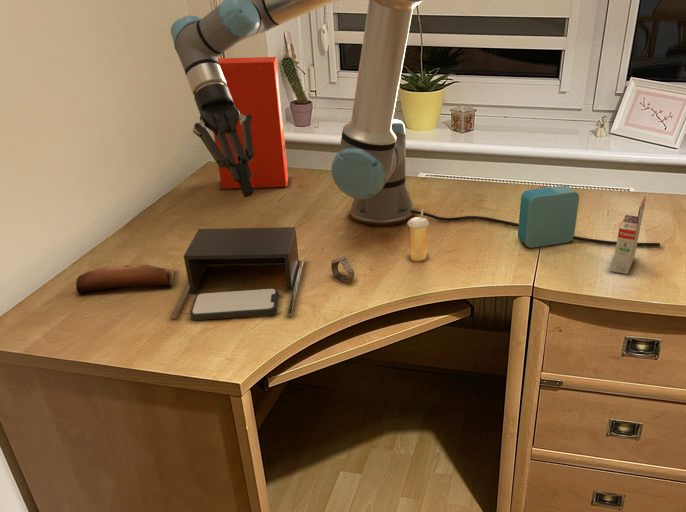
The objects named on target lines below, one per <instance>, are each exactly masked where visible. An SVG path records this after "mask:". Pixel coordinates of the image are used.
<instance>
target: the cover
mask: <svg viewBox="0 0 686 512" xmlns="http://www.w3.org/2000/svg"><path fill="white" fill-rule="evenodd" d="M183 260H184V261H183V262H184V264H185V271H186V276H187V281H188V284H189V286H190V293H196V290H197V288H198V286H199V284H200V282H201V280H202V278H203V276H204V274H205V272H206V270H207V268H208V266H221V265H222V266H223V265H224V266H227V265H228V266H229V265H230V266H231V265H278V264H279V265H284V266H285V276H286V284H287V291H290V292H291V291H292V292H293V289H294V285H295V281H296V277H297V273H298V268H299V264H300V259H299V248H298V237H297V228H296V226H292V227H291V226H287V227H285V226H283V227H281V226H279V227H231V228H230V227H229V228H225V227H224V228H198V229H197V231H196V233H195V235H194V237H193V238H192V240H191V242H190V244H189V245H188V247H187V249H186V251H185V253H184V254H183Z"/></svg>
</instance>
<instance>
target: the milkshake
mask: <svg viewBox="0 0 686 512" xmlns="http://www.w3.org/2000/svg"><path fill="white" fill-rule="evenodd" d="M423 212H425V210H424V209H421V215H420V217H416V216H415V217H411V218H410V219H409V220H407V223H406V224H407V232H408V242H409V243H408V244H409V255H410V259H411V260H412V261H414V262H421V261H425V260H426V258H427V248H428V237H429V229H430V221H429V220H428V219H426V218H425V217H424V215H423Z"/></svg>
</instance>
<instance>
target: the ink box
mask: <svg viewBox="0 0 686 512" xmlns="http://www.w3.org/2000/svg"><path fill="white" fill-rule="evenodd" d="M646 200H647V195H646V194H645V195H644V197H643V199H642V201H641V203H640V206H639V208H638V213H637V215H631V214H625V216H624V218H623V219H622V221H621V224H620V226H619V228H618V233H617V240H616V242H617V244H616V245H615V249H614V256H613V261H612V266H611V270H610V271H611V272H613V273H616V274H617V273H618V274H624V275H628V274H629V271H630V269H631V267H632V264H633V262H634V259H635V256H636V252H637V247H638V246H637V243H639V236H640V231H641V226H642V221H643V216H644V211H645V206H646Z"/></svg>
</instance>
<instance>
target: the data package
mask: <svg viewBox="0 0 686 512" xmlns="http://www.w3.org/2000/svg"><path fill="white" fill-rule="evenodd" d="M579 202H580V194H579V193H578V192H577V191H576V190H574V189H573V188H571V187H569V186H568V185H557V186H549V187H542V188H541V187H540V188H534V189H533V188H532V189H527V190H524V192H522V194H521V196H520V204H519V215H518V224H519V227H517V238H518V240H519V241H521V242H522V244H524V245H525V246H526V247H527V248H529V249H534V248H540V247H547V246H554V245H555V246H556V245H561V244H568V243H570V242H571V241H573V240H574V239H573V238H574V236H575V233H576V224H577V218H578V210H579Z"/></svg>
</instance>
